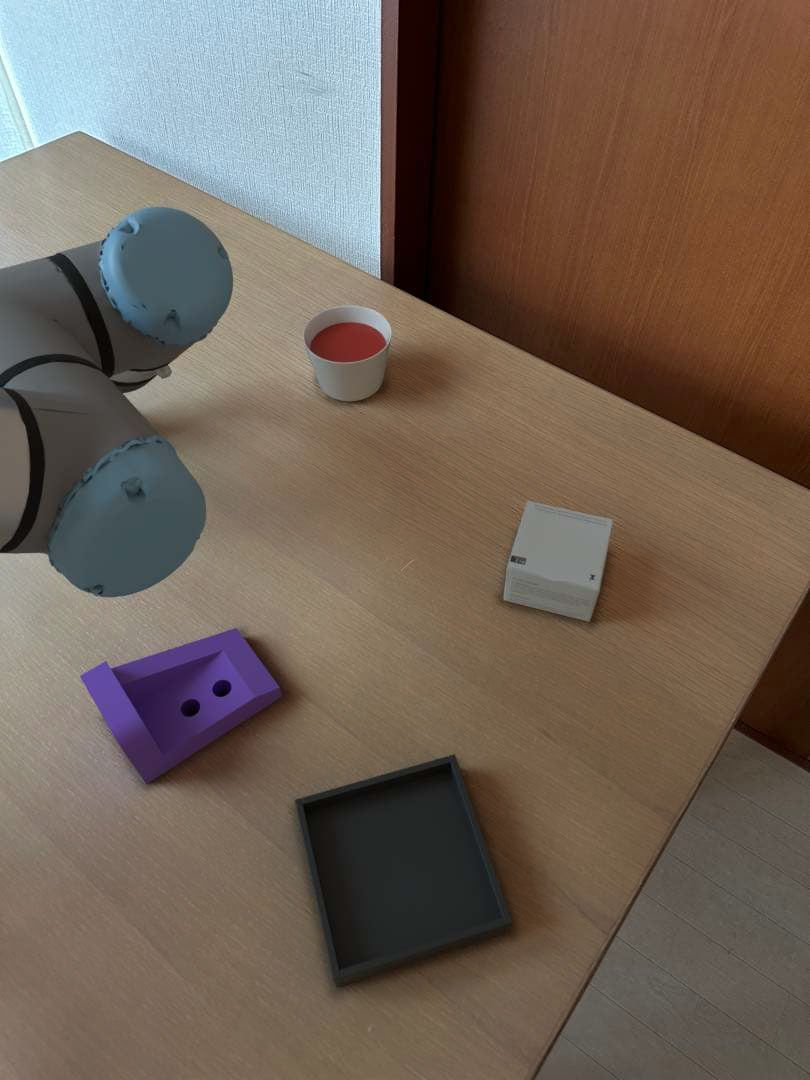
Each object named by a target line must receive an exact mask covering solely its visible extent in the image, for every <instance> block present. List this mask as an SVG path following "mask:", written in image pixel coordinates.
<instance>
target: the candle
mask: <svg viewBox="0 0 810 1080" xmlns="http://www.w3.org/2000/svg"><path fill="white" fill-rule="evenodd" d="M392 334H393V332H392V326H391V323H390V322H389V320H388V319H387V318H386V317H385V316H384V315H383V314H381V313H380V312H378V311H376V310H374V309H372V308H369V307H367V306H366V307H365V306H360V305H351V304H350V305H349V304H347V305H338V306H334V307H329V308H327V309H325V310H322V311H320V312H318V313H316V314H315V315H313V316H312V317H311V318H310V319H309V320H308V321H307V323H306V324H305V326H304V328H303V331H302V342H303V344H304V348H305V350H306V353H307V355H308V359H309V361H310V365H311V367H312V369H313V373H314V375H315V377H316V380H317V382H318V383H317V384H318V385H319V387H320V389H321V390H322V391H323V392H324V393H325V395H327V396H328V397H330V398H331V399H334V400H337V401H341V402H342V401H343V402H357V401H362V400H365V399H367V398H369V397H371V396H373V395H374V394H376V393H377V392H378V391H379V389H380V388H381V386H382V384H383V382H384V378H385V373H386V370H387V369H386V368H387V364H388V363H387V362H388V357H389V352H390V348H391V347H390V346H391V342H392V336H393V335H392Z"/></svg>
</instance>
